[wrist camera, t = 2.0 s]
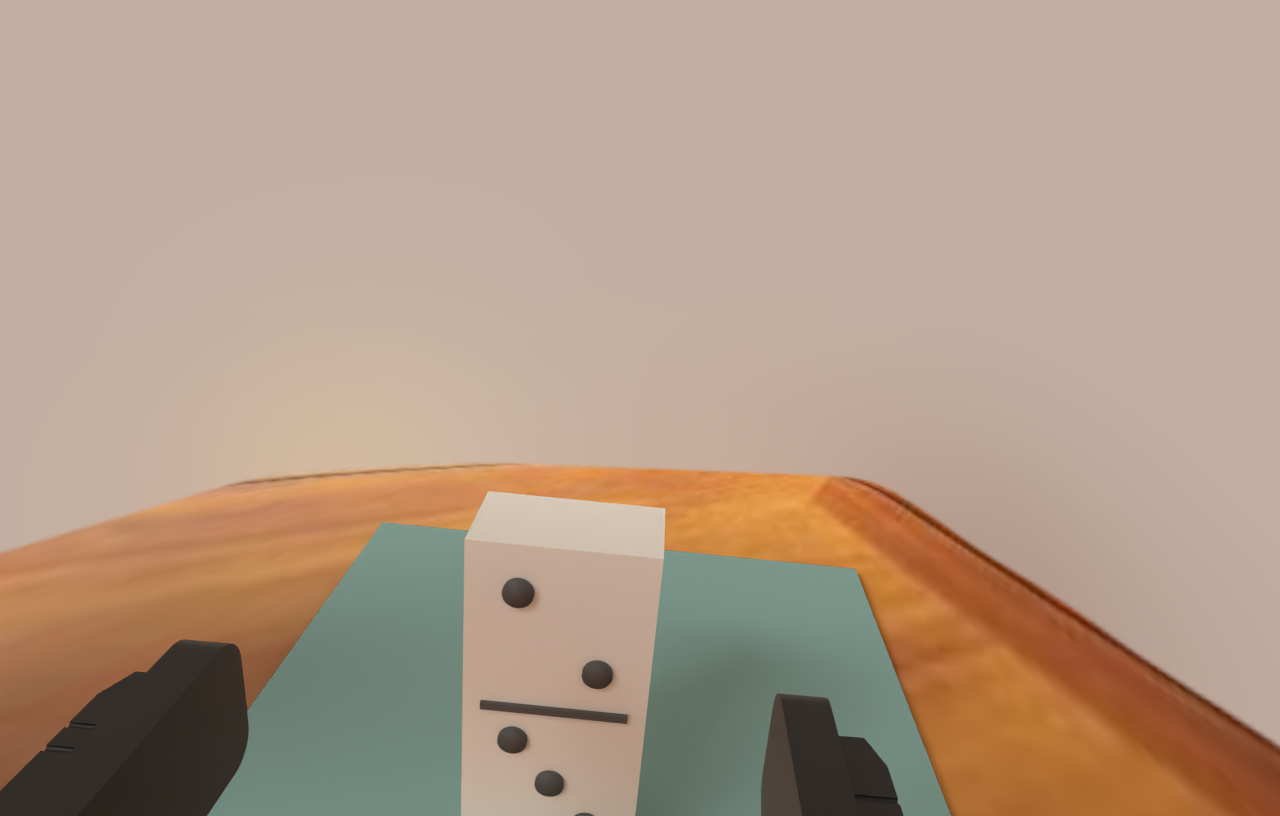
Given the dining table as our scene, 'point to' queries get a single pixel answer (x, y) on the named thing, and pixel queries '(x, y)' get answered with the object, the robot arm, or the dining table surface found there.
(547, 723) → the domino
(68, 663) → the dining table surface
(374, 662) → the mat
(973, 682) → the dining table surface
